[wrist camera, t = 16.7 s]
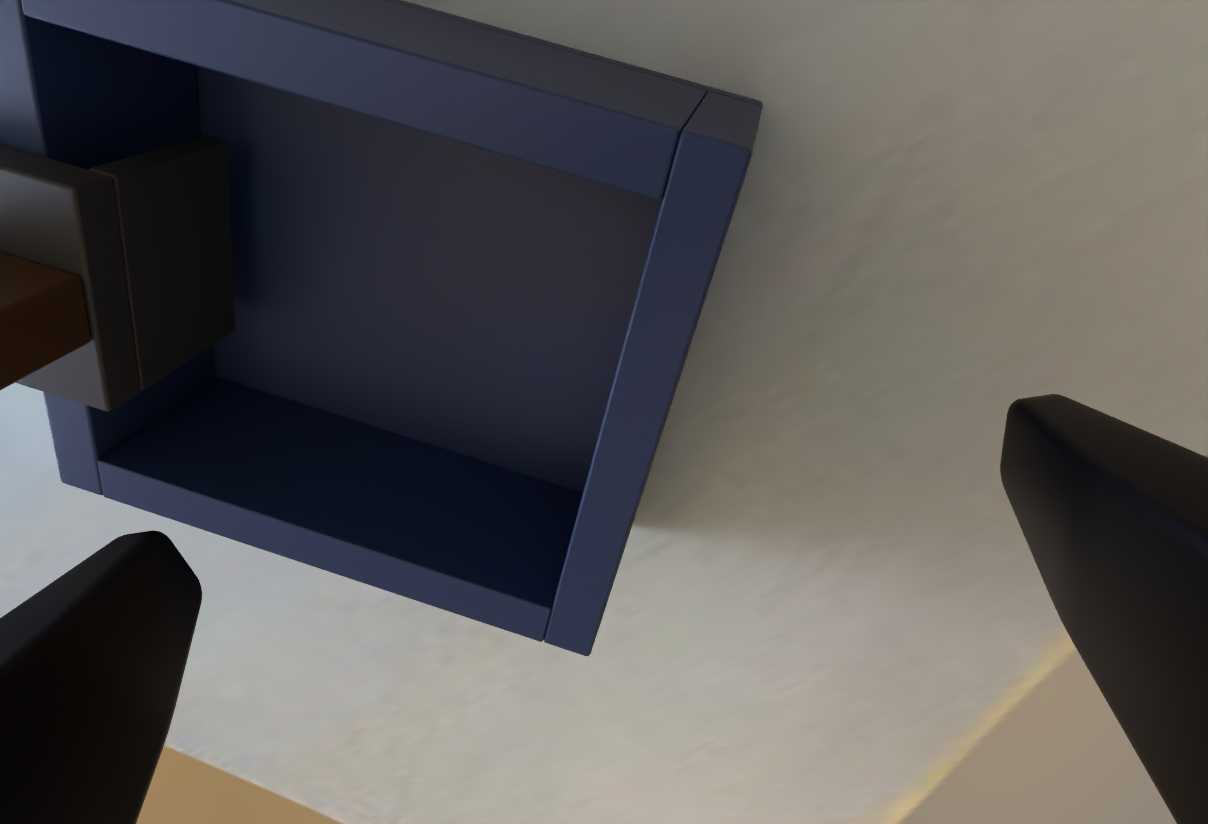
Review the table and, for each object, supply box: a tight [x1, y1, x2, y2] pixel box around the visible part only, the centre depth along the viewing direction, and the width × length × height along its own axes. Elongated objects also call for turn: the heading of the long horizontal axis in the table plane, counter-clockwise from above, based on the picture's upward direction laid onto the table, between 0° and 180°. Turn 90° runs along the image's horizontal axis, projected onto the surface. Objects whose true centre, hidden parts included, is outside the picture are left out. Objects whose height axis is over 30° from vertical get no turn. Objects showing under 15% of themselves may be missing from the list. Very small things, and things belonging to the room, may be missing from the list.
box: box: [0, 0, 763, 656], centre depth 18 cm, size 14×12×5 cm
